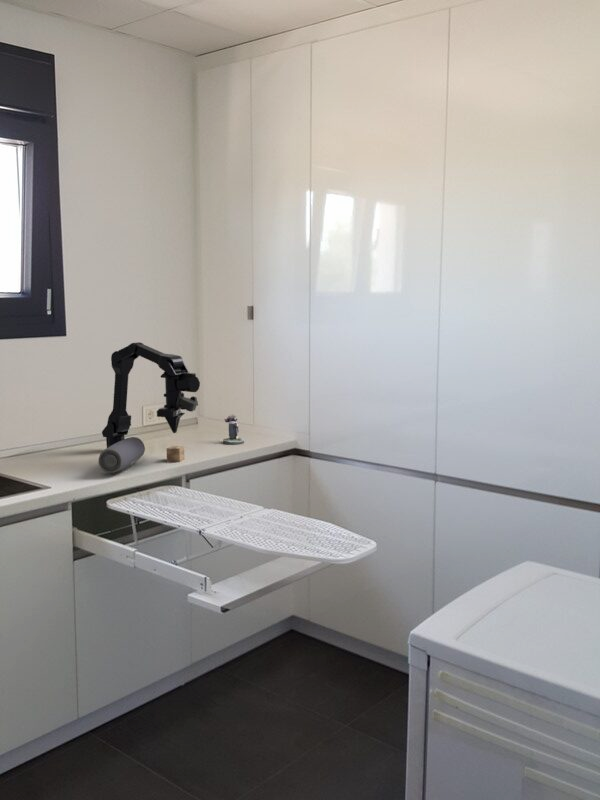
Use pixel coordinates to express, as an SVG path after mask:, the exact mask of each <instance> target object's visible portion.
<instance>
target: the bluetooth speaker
mask: <svg viewBox="0 0 600 800" xmlns="http://www.w3.org/2000/svg"><path fill="white" fill-rule="evenodd" d="M145 446H146V445H145V444H144V442H143V440H141V439H140V438H139V437H136V436H131V437H126V438H125V439H124V440H121V441H119V442H117V443H115V444H113V445H111V446H110V447H108V448H107V447H106V448H105V449H103V451H102V452H101V453H100V454H99V456H98V465H99V467H100V469H101V470H102V471H103V472H105V473H108V474H112V473H113V474H114V473H117V472H120V473H124V472H126V471H127V470H129V469H130V468H132V465H133V464H134V463H136V462H137V461H139V460H140V459H141V458H142V457H143V456H144V454H145V451H146V447H145ZM128 468H129V469H128ZM125 470H126V471H125ZM123 471H124V472H123Z"/></svg>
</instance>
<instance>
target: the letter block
mask: <svg viewBox="0 0 600 800" xmlns="http://www.w3.org/2000/svg"><path fill="white" fill-rule="evenodd" d="M165 449H166V463H167V462H168V463H181V462H183V461H185V460H186V459H185V455H186V454H185V446H184V445H183V446H182V445H171V446H169V447H166V448H165Z"/></svg>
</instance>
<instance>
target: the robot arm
mask: <svg viewBox="0 0 600 800" xmlns="http://www.w3.org/2000/svg"><path fill="white" fill-rule="evenodd" d="M110 356H111V357H110V359H111V360H110V361H111V368H112V370H113V372H114V387H113V401H112V402H113V405H112V410H111V412H110V414H109V415H108V418H107V423H106V424H107V425H106V426H105V427H104V428H103V430H102V431H101V435H102V437H103V438H105V441H106V448H108V447H110V446H111V445H113V444H115V443H117V442H119V441H121V440H124V439H126V438H125V436H127V435H128V433H129V430H130V428H131V426H132V415H131V414H129V413H128V411H127V402H128V387H129V385H128V384H129V374H130V373H131V371H132V369H133V367H134V362H135V360H137V359H138V358H139V357H141V358H142V359H146V360H148V361H149V362H152V363H154V364H156V365H157V366H158V367H159V369H161V370H162V371H164V372H163V373H162V374H161V375H160V378H161V379H165V381H164V382H165V383H164V385H165V387H164V388H165V393H163V397H165V404H164V405H163V407H159V408H158V409H157V410H156V417H158V418H164V419H165V420H166V422H167V423H168V426H169V428H170V430H171V432H172V433H173V434H177V431H178V428H179V424H180V420H181V418H182V417H183V416H184V415H185V414H186V412H182V410H184V411H185V410H186V411H187V412H192V413H193V411H196V409H197V406H199V404H198V403H199V401H198V398H197V397H196V396H190V398H189V397H186V396H185V393H184V392H186V393H187V392H189V393H196V392H198V390H200V385H201V382H200V380H199V378H198V377H197V375H196V372H190V371H189V368H188V367H187V365H186V364H185V362H184V361H183V360H184V359H183V357H182V356H180V355H178V354H172V353H164V352H162V351H159V350H158V349H155V348H152V347H150V346H148V345H145V344H144V343H142V342H138V341H137V342H132V343H130V344H128V345H127V346H125V347H123V348H121V349H119V350H115V351H114V352H112V353H111V355H110Z"/></svg>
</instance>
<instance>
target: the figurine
mask: <svg viewBox="0 0 600 800" xmlns="http://www.w3.org/2000/svg"><path fill="white" fill-rule="evenodd" d="M237 421H238V418H237V417H236V415H235V414H230V415H228V416H227V417H224V422H225V423H228V437H226V438H223V440H222V442H223V443H222V444H223V445H226V446H227V445H228V446H239V445H243V444H245V439H244V438H241V437H238V433H239V431H240V429H239V426H240V425H239V423H238V422H237Z"/></svg>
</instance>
